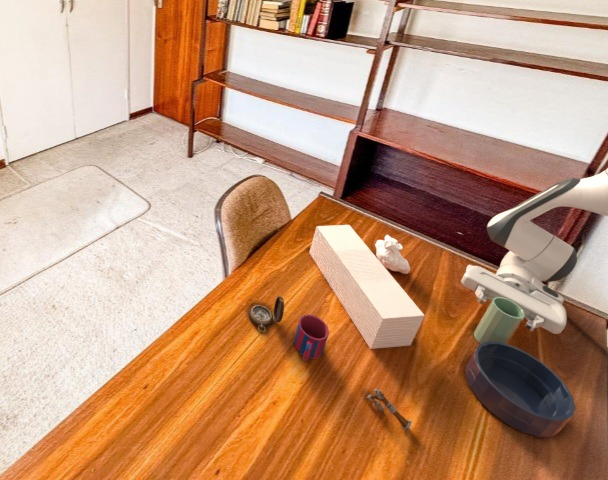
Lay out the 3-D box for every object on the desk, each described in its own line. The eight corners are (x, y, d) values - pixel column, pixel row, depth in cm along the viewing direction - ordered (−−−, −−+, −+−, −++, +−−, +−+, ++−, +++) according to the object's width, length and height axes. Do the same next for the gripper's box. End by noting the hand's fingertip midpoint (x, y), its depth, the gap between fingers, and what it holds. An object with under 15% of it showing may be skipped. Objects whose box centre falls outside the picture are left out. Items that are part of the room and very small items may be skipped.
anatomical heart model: (370, 256, 127) (360, 238, 122) (389, 241, 127) (380, 223, 121) (400, 285, 117) (391, 267, 111) (421, 269, 117) (413, 251, 111)
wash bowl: (513, 359, 95) (525, 341, 92) (582, 438, 80) (599, 420, 77) (447, 359, 94) (457, 341, 91) (504, 438, 79) (518, 420, 77)
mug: (325, 343, 97) (332, 324, 94) (313, 376, 89) (320, 356, 86) (298, 328, 100) (304, 309, 97) (284, 358, 93) (290, 339, 90)
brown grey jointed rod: (364, 390, 86) (378, 384, 83) (396, 425, 83) (412, 421, 80) (361, 396, 85) (375, 391, 82) (394, 432, 82) (410, 428, 79)
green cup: (490, 329, 102) (510, 297, 97) (509, 352, 96) (531, 318, 91) (467, 329, 102) (486, 296, 97) (486, 352, 96) (506, 318, 91)
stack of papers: (410, 345, 97) (425, 315, 92) (370, 349, 96) (383, 318, 91) (340, 251, 126) (349, 224, 121) (309, 252, 125) (316, 226, 120)
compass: (248, 305, 106) (252, 285, 103) (278, 311, 105) (283, 291, 102) (248, 331, 99) (252, 311, 96) (280, 338, 98) (286, 318, 94)
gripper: (473, 254, 111) (459, 278, 102) (573, 301, 97) (566, 334, 89) (464, 270, 113) (450, 296, 105) (560, 319, 100) (553, 352, 91)
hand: (504, 314), depth 97 cm, fingers open, 8 cm apart
